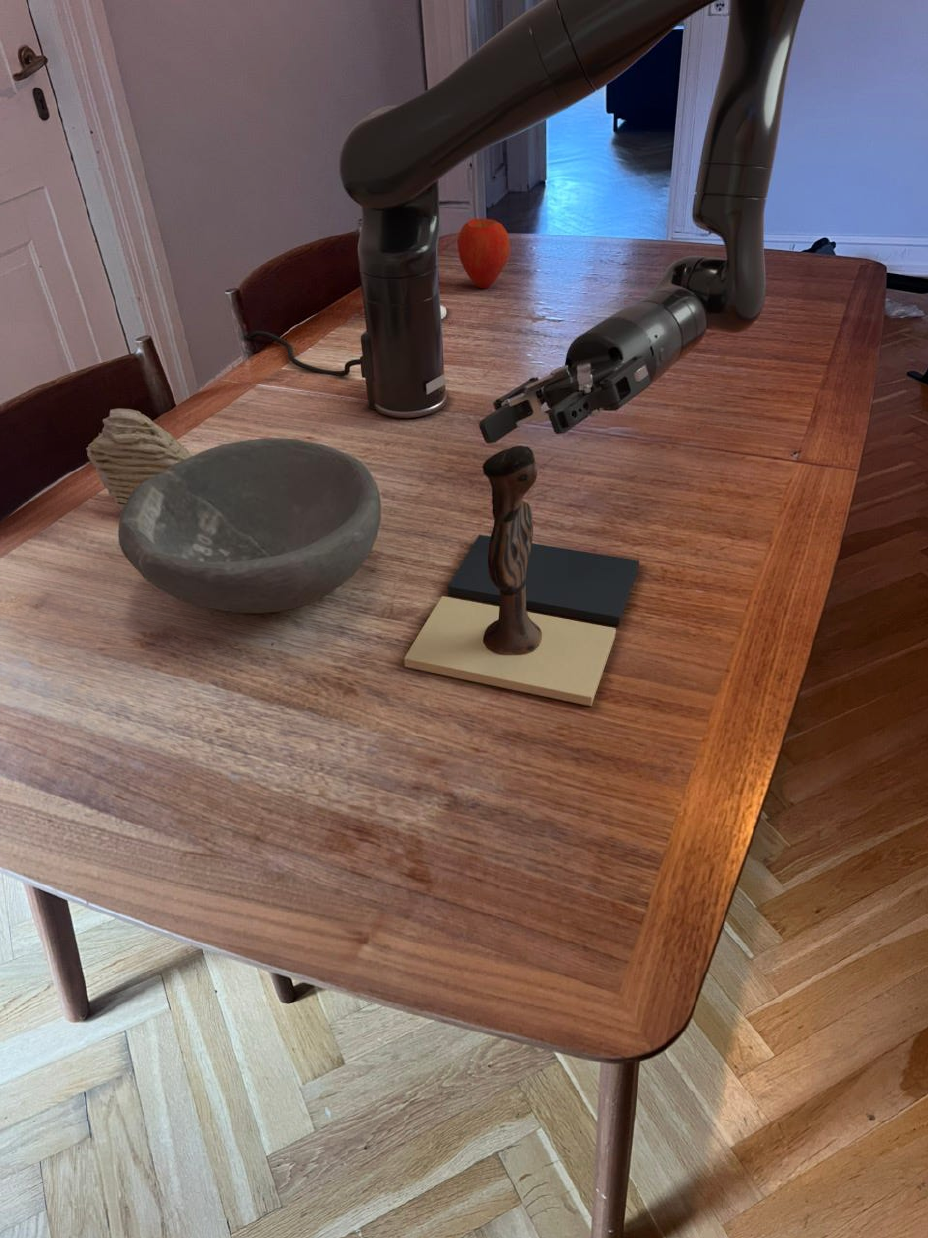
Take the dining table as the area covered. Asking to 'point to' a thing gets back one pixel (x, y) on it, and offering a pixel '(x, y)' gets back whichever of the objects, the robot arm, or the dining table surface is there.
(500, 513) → the figurine
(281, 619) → the dining table surface
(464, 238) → the apple
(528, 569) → the dark mat
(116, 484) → the fossil tooth
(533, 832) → the dining table surface
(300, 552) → the bowl
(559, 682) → the cream mat
